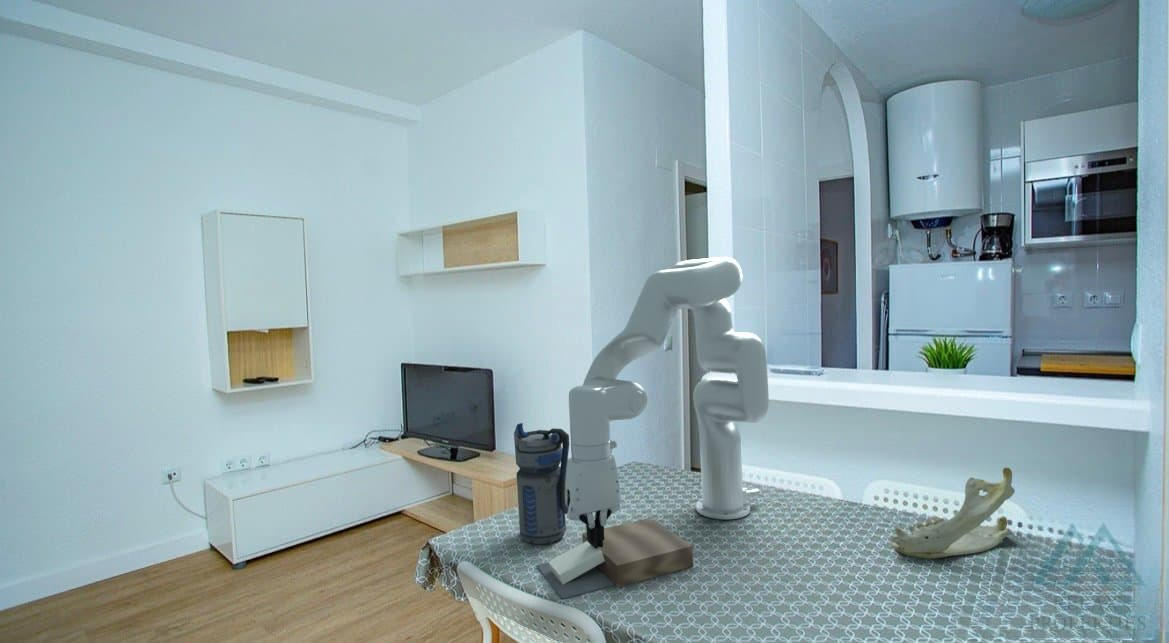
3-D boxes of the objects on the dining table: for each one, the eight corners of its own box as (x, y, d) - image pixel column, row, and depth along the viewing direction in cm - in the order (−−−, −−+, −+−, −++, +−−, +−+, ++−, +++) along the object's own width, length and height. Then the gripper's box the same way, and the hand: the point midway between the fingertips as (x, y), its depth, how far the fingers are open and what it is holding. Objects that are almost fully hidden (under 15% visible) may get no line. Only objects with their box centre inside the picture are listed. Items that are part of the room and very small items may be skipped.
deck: (650, 535, 125) (650, 517, 124) (693, 566, 110) (692, 545, 110) (583, 552, 118) (582, 533, 118) (618, 587, 104) (617, 565, 103)
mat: (583, 555, 117) (583, 553, 117) (613, 585, 104) (613, 583, 104) (536, 566, 113) (536, 565, 113) (562, 599, 100) (562, 597, 100)
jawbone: (905, 527, 103) (875, 488, 112) (902, 593, 111) (875, 551, 120) (1044, 496, 102) (1003, 458, 111) (1032, 564, 110) (995, 524, 119)
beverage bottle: (562, 551, 119) (555, 432, 118) (508, 542, 125) (501, 428, 124) (583, 532, 128) (577, 421, 127) (533, 524, 134) (526, 418, 133)
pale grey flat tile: (591, 548, 114) (589, 539, 114) (605, 560, 108) (601, 551, 108) (551, 570, 111) (548, 561, 110) (562, 584, 105) (559, 575, 105)
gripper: (617, 440, 116) (621, 530, 117) (547, 452, 110) (552, 546, 111) (635, 449, 109) (639, 544, 110) (561, 462, 103) (567, 562, 104)
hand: (595, 544), depth 111 cm, fingers closed
